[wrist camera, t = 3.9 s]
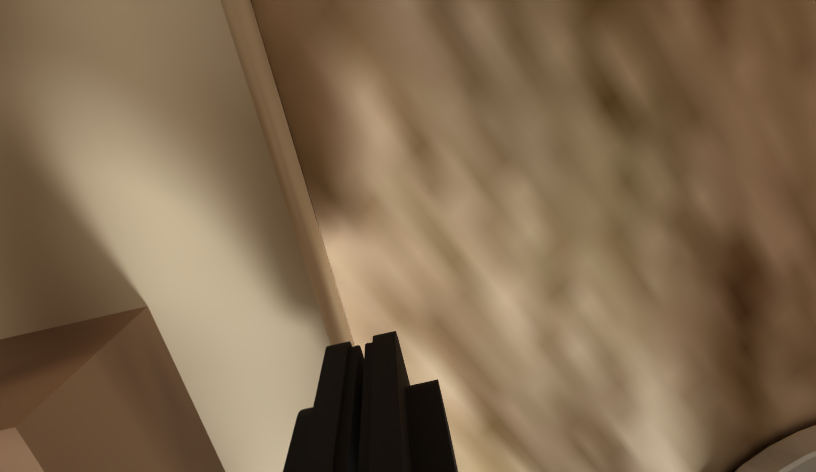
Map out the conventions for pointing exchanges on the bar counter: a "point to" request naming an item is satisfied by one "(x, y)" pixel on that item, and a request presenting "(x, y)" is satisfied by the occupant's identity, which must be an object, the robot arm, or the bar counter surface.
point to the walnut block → (98, 401)
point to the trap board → (166, 203)
